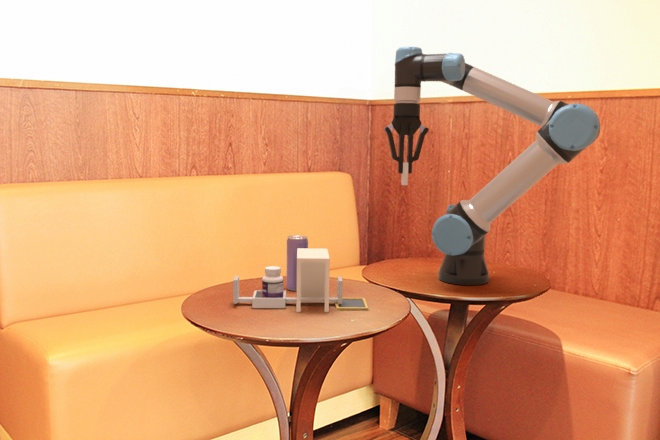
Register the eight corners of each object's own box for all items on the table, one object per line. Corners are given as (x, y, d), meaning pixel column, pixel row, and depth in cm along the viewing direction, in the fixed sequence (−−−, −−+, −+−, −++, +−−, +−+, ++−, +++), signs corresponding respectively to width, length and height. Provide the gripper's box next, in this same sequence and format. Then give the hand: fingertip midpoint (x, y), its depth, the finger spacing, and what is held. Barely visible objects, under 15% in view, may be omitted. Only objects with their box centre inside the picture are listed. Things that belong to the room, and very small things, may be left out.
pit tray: (364, 300, 171) (364, 297, 171) (368, 310, 161) (368, 307, 161) (334, 299, 171) (334, 297, 171) (336, 310, 161) (336, 307, 161)
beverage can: (304, 292, 179) (305, 238, 177) (284, 290, 180) (284, 237, 178) (309, 287, 184) (310, 235, 182) (289, 286, 186) (290, 234, 184)
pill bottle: (261, 302, 167) (261, 265, 166) (282, 301, 168) (282, 265, 167) (262, 307, 162) (262, 270, 161) (284, 307, 163) (284, 269, 161)
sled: (340, 300, 170) (341, 275, 169) (342, 308, 162) (343, 282, 161) (235, 299, 169) (235, 274, 168) (232, 307, 160) (232, 281, 160)
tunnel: (326, 298, 173) (327, 248, 171) (328, 312, 159) (329, 258, 157) (296, 297, 172) (297, 248, 170) (296, 312, 158) (296, 258, 157)
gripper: (427, 103, 189) (424, 184, 192) (382, 103, 188) (380, 183, 191) (432, 102, 181) (429, 186, 184) (386, 101, 181) (383, 185, 184)
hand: (404, 184), depth 188 cm, fingers closed
